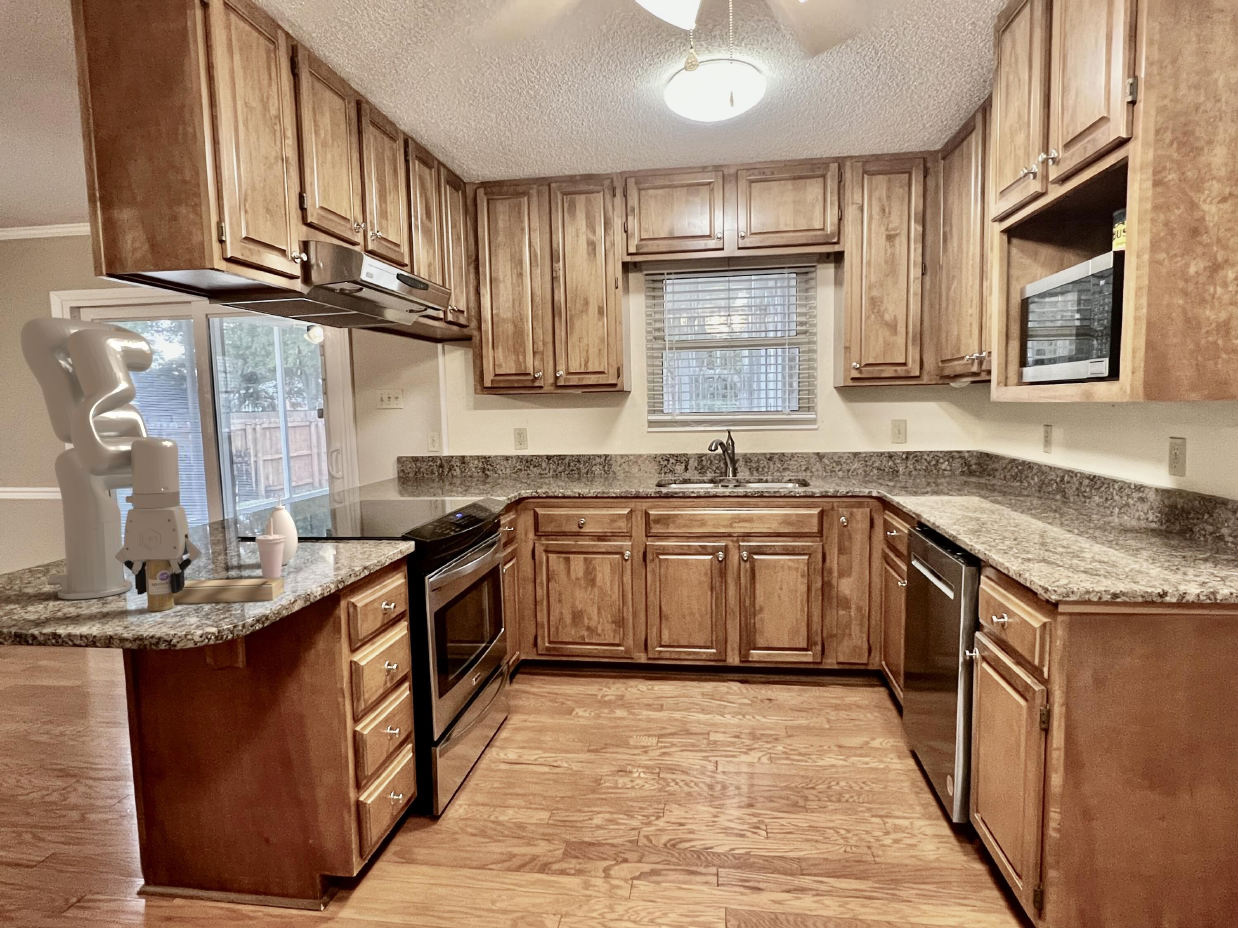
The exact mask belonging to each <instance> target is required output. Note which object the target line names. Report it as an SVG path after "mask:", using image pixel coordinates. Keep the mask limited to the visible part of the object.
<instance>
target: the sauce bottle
mask: <svg viewBox="0 0 1238 928" xmlns="http://www.w3.org/2000/svg"><path fill="white" fill-rule="evenodd" d="M281 501H282V500H281V496H278V505H276V506H274V507H273V509H274V510H273V511H272V512H271V513H270V515H269V517H268V519H267V521H266V523H265V527H264V531H263V535H270V518H272V526H273V534H278V535H285V539H286V540H285V541H284V548H283V557H282V566H286V564H288V563H290V561H291V560H293V558H294V557H295V555H296V552H297V548H298V543H299V541H298V539H299V538H298V531H297V528H296V524H295V522H294V520H293V517H292V516H291V514H290V513H289V511H288V510H287V509H286V505H282V502H281Z"/></svg>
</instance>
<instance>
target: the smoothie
mask: <svg viewBox="0 0 1238 928" xmlns="http://www.w3.org/2000/svg"><path fill="white" fill-rule="evenodd" d="M285 540H286V539H285V535H278V534H273V526H272V518H270V535H264V534H263V535H260V536H257V537H255V543H256V544H257V550H258V555H259V562H260V566H261V567H260V568H261V572H262V573H261V574H262V579H268V578H281V576H282V575H281V574H282V567H283V565H282V557H283V548H284V541H285Z"/></svg>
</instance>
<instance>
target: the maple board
mask: <svg viewBox="0 0 1238 928" xmlns="http://www.w3.org/2000/svg"><path fill="white" fill-rule="evenodd" d="M284 592H285V578H284V577H276V578H245V579H244V578H243V579H241V578H240V579H237V578H236V579H213V580H212V579H211V580H208V579H207V580H206V579H205V580H185V585H184V587H183V590H181V591H180V592H178V593H173V594H174V604H175V605H176V604H177V605H180V604H182V605H183V604H202V603H203V604H204V603H210V604H211V603H234V602H257V601H258V602H259V601H274V600H275V599H276V598H278V597H279V596H280V595H282V594H283V593H284Z"/></svg>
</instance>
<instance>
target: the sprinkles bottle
mask: <svg viewBox="0 0 1238 928" xmlns="http://www.w3.org/2000/svg"><path fill="white" fill-rule="evenodd" d="M172 573H173V568H172V566H171V563H170V561H169V560H154V561H146V588H147V592H146V595H147V608H146V609H147V610H146V611H149V612H162V611H167V610H171V609H173V608H175V606H176V604H174V594H173V593H172V592H171V574H172Z"/></svg>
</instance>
